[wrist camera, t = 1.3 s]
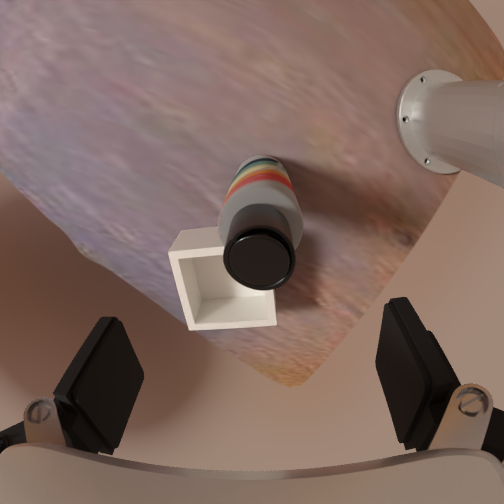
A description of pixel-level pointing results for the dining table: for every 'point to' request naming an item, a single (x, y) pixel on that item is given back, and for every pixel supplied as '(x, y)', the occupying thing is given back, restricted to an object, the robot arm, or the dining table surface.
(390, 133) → the dining table surface
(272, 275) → the lotion bottle
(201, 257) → the caddy
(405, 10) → the dining table surface
